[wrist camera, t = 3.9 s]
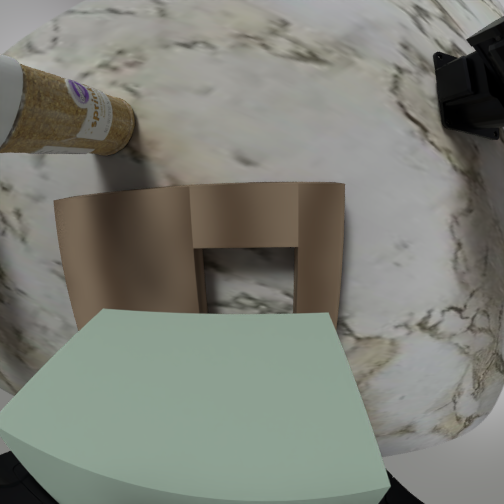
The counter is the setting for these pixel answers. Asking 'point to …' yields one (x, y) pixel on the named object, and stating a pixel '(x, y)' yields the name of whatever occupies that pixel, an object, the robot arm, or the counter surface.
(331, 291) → the socket board
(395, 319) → the counter surface
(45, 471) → the block
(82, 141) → the sprinkles bottle
